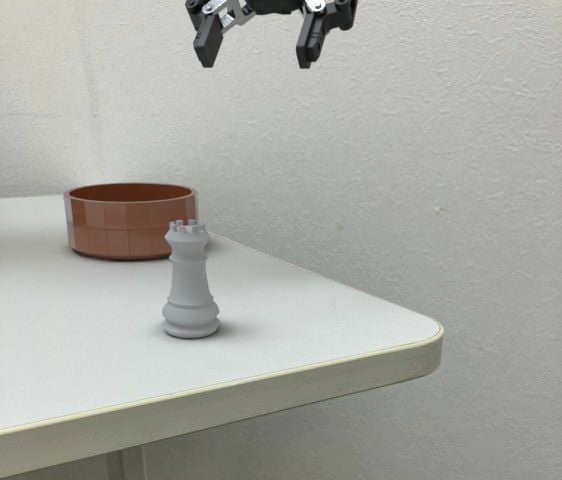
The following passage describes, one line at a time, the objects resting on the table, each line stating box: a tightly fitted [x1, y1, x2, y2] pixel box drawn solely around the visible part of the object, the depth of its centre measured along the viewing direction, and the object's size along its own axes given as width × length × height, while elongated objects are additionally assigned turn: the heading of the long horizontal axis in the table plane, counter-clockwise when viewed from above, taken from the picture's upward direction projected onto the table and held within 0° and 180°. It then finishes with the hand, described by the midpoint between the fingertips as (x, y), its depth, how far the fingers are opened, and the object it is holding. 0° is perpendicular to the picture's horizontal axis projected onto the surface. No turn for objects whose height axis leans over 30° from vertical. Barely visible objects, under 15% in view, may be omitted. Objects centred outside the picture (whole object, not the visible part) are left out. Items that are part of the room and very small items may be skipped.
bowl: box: [63, 181, 200, 261], centre depth 73 cm, size 14×14×6 cm
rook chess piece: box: [161, 220, 222, 339], centre depth 48 cm, size 4×4×8 cm
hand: (251, 60), depth 53 cm, fingers open, 8 cm apart
